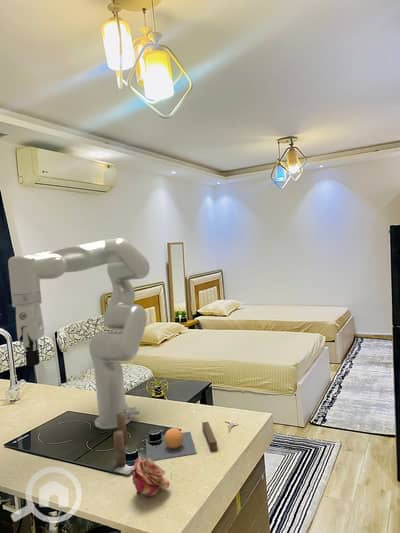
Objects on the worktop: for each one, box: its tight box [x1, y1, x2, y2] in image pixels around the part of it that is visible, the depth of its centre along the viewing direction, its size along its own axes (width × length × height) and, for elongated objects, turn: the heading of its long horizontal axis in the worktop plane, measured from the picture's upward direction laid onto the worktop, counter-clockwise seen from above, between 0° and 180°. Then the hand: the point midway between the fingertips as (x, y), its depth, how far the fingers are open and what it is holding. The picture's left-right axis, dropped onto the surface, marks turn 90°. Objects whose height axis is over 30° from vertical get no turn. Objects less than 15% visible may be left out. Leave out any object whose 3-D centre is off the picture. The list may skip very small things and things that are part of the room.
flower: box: [130, 457, 171, 501], centre depth 94 cm, size 10×9×8 cm
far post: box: [116, 413, 128, 446], centre depth 121 cm, size 3×3×9 cm
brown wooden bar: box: [201, 421, 218, 452], centre depth 119 cm, size 2×14×2 cm, turn 9°
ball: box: [163, 427, 183, 449], centre depth 115 cm, size 6×6×6 cm
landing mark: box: [145, 431, 197, 462], centre depth 117 cm, size 14×14×1 cm
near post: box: [113, 430, 127, 468], centre depth 108 cm, size 3×3×9 cm
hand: (33, 364), depth 110 cm, fingers closed
